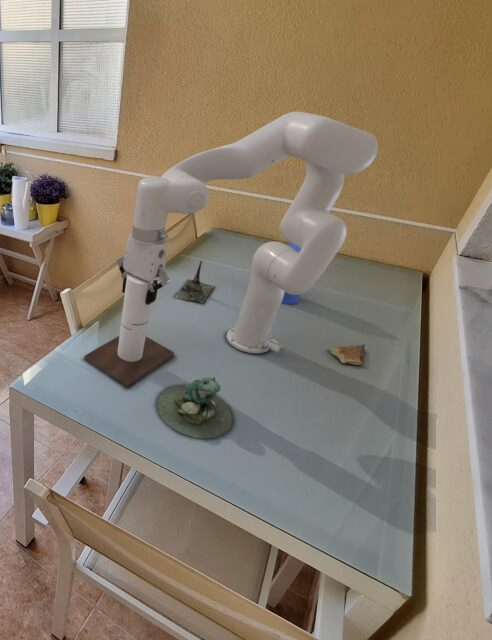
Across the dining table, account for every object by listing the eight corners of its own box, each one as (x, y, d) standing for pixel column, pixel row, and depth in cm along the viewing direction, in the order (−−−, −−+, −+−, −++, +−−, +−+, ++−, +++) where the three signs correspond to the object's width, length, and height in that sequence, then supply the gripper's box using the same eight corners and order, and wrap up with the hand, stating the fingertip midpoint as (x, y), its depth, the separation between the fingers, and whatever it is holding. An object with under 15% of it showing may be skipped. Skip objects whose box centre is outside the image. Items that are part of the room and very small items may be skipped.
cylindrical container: (142, 363, 118) (155, 285, 103) (116, 359, 119) (126, 282, 104) (142, 347, 123) (155, 272, 109) (118, 345, 125) (127, 269, 110)
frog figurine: (188, 448, 95) (199, 413, 88) (143, 397, 109) (149, 363, 102) (247, 424, 101) (262, 389, 94) (197, 379, 114) (207, 345, 107)
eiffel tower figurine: (203, 305, 146) (212, 270, 138) (174, 297, 150) (181, 263, 142) (214, 287, 156) (223, 254, 148) (187, 280, 160) (194, 247, 152)
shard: (362, 348, 125) (364, 343, 124) (381, 364, 119) (384, 359, 118) (328, 351, 124) (331, 346, 123) (346, 367, 118) (349, 362, 117)
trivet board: (173, 356, 123) (174, 352, 122) (126, 388, 112) (127, 384, 111) (131, 332, 132) (131, 328, 132) (84, 359, 121) (84, 355, 121)
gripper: (188, 239, 96) (174, 305, 106) (129, 218, 107) (122, 280, 117) (168, 248, 92) (156, 315, 102) (110, 226, 103) (104, 289, 113)
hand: (138, 296), depth 110 cm, fingers closed on cylindrical container, 7 cm apart
